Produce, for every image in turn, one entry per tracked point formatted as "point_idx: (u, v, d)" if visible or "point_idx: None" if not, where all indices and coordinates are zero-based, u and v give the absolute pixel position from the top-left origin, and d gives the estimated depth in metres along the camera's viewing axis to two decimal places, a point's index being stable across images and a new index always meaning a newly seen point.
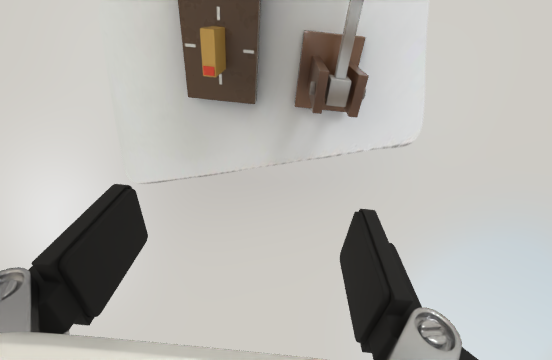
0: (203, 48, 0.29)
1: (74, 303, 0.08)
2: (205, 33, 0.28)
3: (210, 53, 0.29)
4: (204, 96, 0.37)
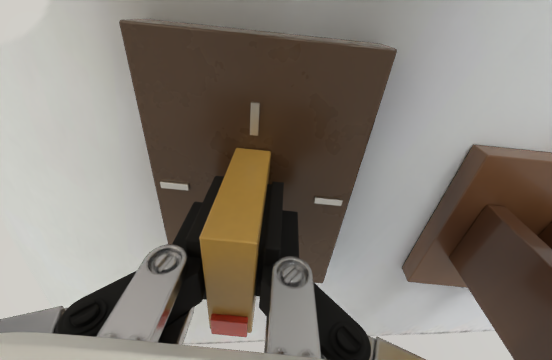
0: (212, 282, 0.08)
1: None
2: (221, 251, 0.07)
3: (237, 293, 0.08)
4: None
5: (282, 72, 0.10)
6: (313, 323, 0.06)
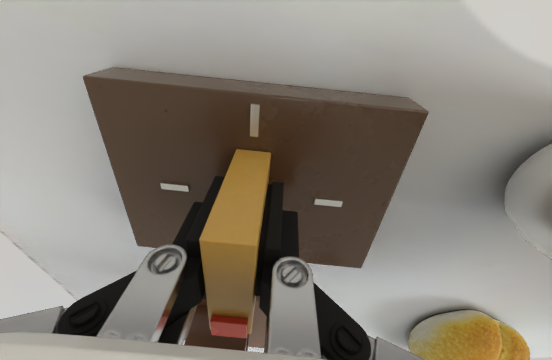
0: (212, 284, 0.08)
1: None
2: (221, 253, 0.07)
3: (237, 294, 0.08)
4: (108, 134, 0.11)
5: (360, 219, 0.13)
6: (313, 323, 0.06)
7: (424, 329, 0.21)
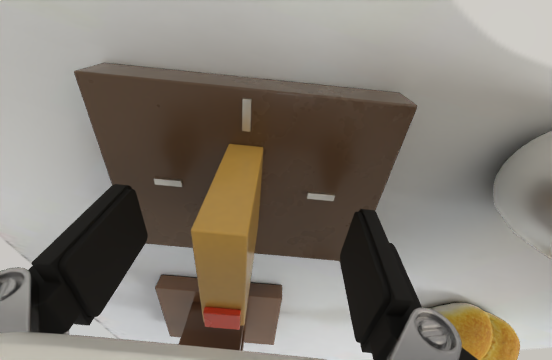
0: (204, 275, 0.08)
1: (75, 303, 0.08)
2: (213, 243, 0.07)
3: (229, 286, 0.08)
4: (101, 130, 0.11)
5: (352, 213, 0.14)
6: None
7: None
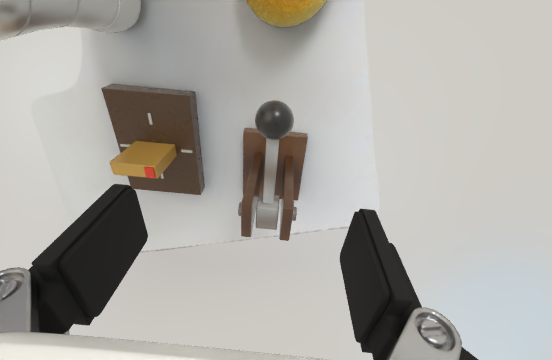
0: (130, 174, 0.28)
1: (74, 303, 0.08)
2: (116, 170, 0.28)
3: (132, 168, 0.27)
4: (148, 188, 0.36)
5: (155, 103, 0.29)
6: None
7: None
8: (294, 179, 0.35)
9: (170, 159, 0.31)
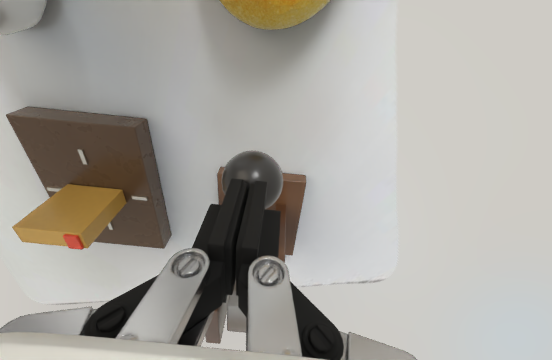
0: (46, 242, 0.19)
1: (224, 281, 0.09)
2: (24, 237, 0.19)
3: (48, 235, 0.18)
4: None
5: (87, 136, 0.20)
6: (292, 320, 0.06)
7: None
8: (288, 232, 0.26)
9: (113, 212, 0.22)
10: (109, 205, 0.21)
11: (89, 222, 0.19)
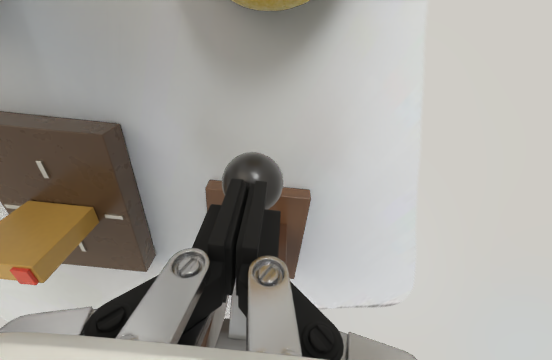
0: None
1: (224, 281, 0.09)
2: None
3: None
4: (65, 261, 0.23)
5: (46, 145, 0.16)
6: (292, 320, 0.06)
7: None
8: (289, 253, 0.22)
9: (81, 235, 0.18)
10: (75, 227, 0.18)
11: (46, 251, 0.16)
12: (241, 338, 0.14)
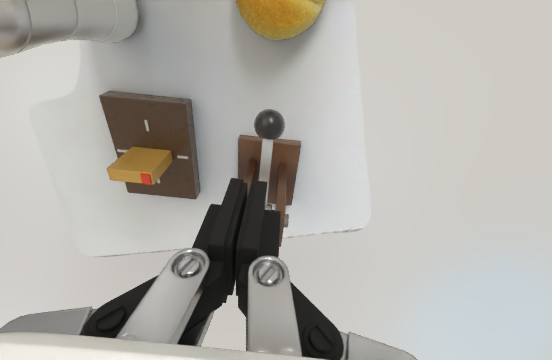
0: (127, 180, 0.28)
1: (224, 281, 0.09)
2: (112, 176, 0.28)
3: (129, 174, 0.28)
4: (144, 192, 0.36)
5: (152, 110, 0.29)
6: (292, 320, 0.06)
7: None
8: (288, 185, 0.35)
9: (166, 165, 0.31)
10: (164, 159, 0.31)
11: (155, 167, 0.29)
12: None
